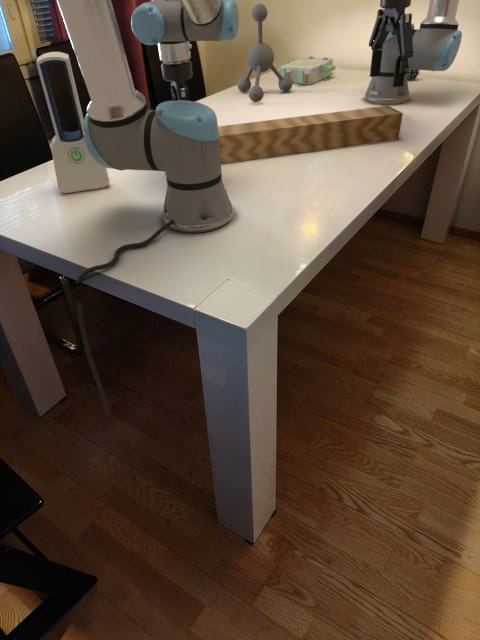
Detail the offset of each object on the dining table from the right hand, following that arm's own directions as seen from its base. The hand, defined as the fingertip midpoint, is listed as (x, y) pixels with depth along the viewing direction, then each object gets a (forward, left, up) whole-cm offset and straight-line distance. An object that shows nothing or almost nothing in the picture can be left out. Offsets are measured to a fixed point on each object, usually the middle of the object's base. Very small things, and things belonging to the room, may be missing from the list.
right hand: (385, 81), depth 135 cm
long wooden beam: (+14, -25, -15) cm, 32 cm away
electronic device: (+49, -70, -15) cm, 87 cm away
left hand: (+28, -50, -11) cm, 58 cm away
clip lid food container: (-74, -35, -15) cm, 83 cm away
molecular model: (-45, -45, -15) cm, 66 cm away
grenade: (-74, +8, -15) cm, 76 cm away
